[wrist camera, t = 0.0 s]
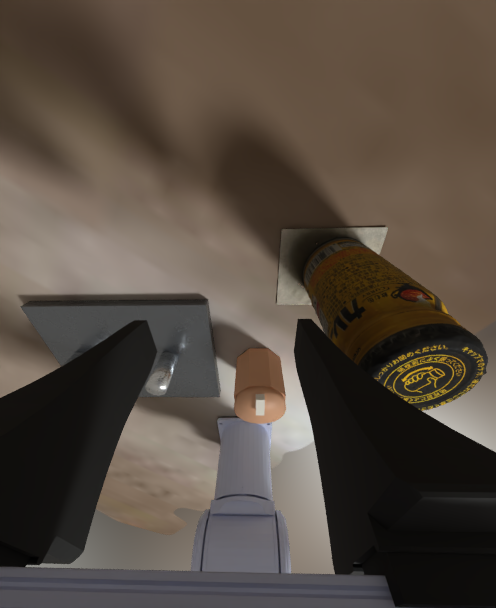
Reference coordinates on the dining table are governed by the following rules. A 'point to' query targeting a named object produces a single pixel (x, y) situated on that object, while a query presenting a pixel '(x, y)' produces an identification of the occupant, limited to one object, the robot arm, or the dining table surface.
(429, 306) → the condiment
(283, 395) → the knob
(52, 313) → the hub plate
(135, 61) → the dining table surface
